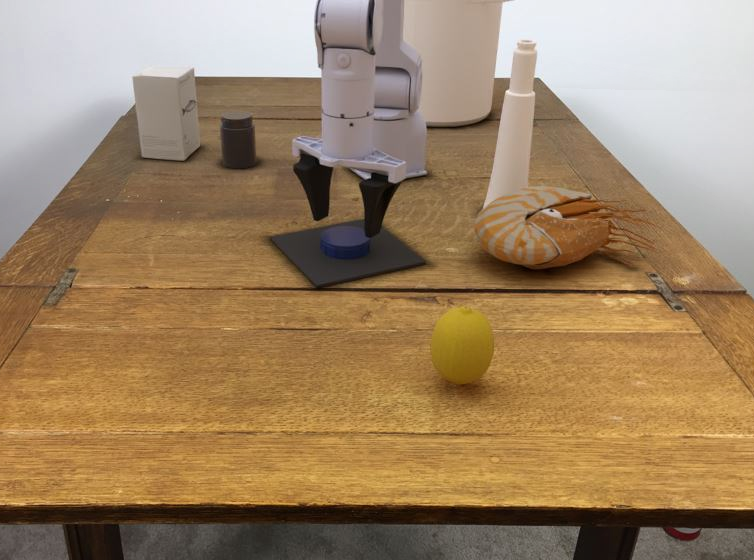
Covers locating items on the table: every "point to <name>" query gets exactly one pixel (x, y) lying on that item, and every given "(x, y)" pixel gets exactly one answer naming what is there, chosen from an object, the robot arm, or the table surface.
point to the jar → (238, 139)
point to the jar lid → (345, 242)
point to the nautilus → (548, 227)
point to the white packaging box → (167, 112)
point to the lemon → (462, 345)
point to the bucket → (454, 57)
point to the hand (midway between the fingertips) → (346, 226)
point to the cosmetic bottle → (515, 126)
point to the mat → (330, 271)
